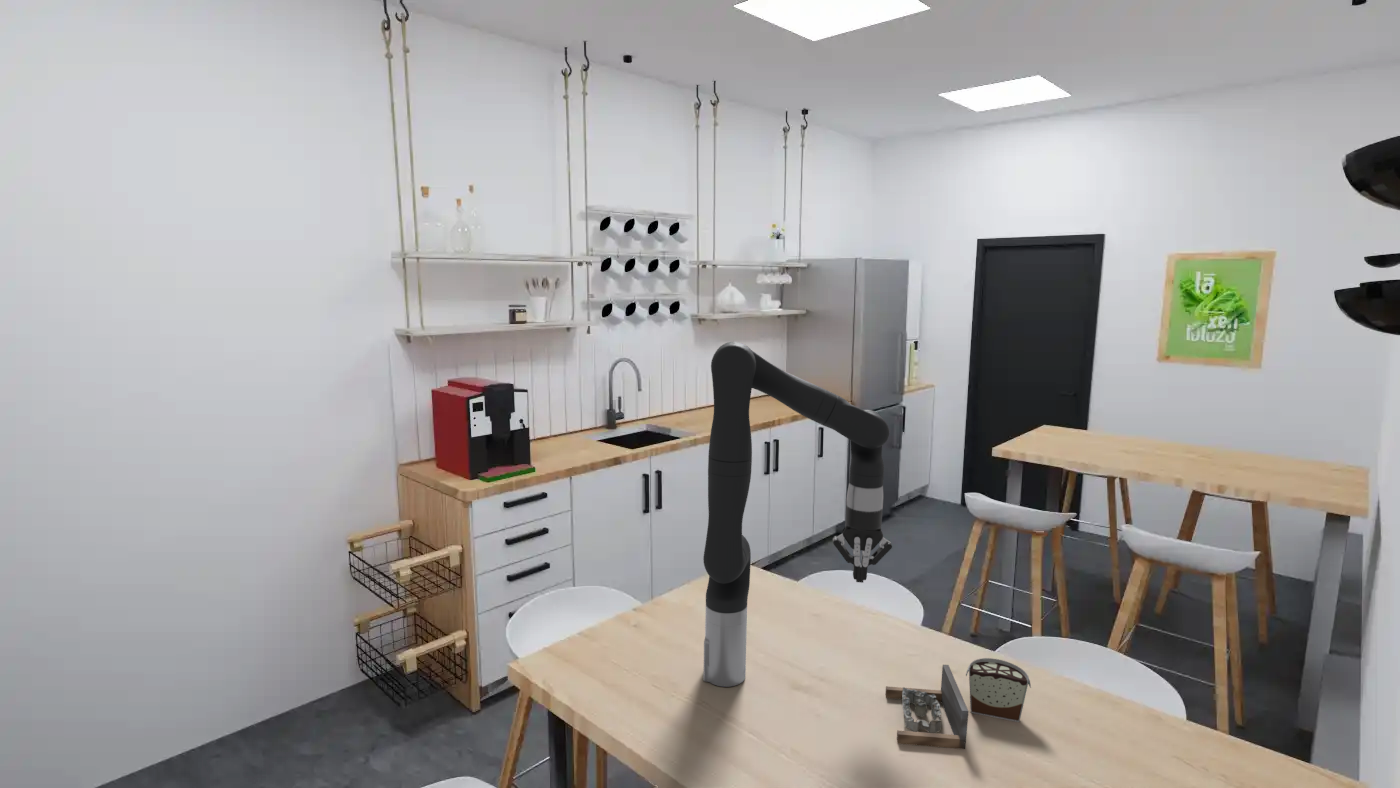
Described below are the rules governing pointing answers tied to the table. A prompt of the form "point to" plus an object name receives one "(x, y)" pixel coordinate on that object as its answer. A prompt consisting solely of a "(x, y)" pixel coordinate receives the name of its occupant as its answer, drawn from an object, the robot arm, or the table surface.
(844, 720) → the table surface
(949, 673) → the display stand
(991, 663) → the food container
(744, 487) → the robot arm
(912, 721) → the egg carton
